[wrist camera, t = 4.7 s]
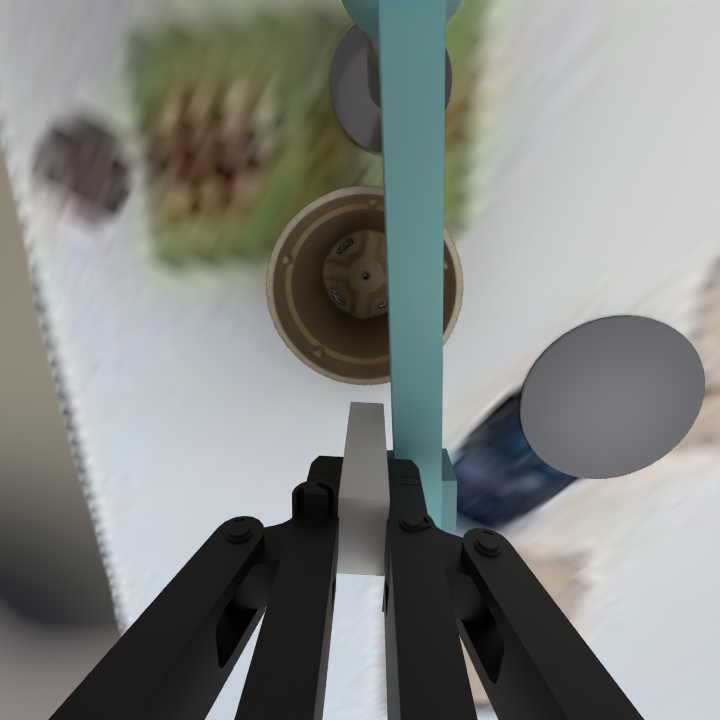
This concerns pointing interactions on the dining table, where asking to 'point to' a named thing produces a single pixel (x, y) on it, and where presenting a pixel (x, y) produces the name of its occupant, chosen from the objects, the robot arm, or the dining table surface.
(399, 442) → the teal paddle stick
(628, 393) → the pad
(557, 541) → the dining table surface
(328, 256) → the flower pot
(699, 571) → the dining table surface
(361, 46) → the grey pedestal stand
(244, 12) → the dining table surface
